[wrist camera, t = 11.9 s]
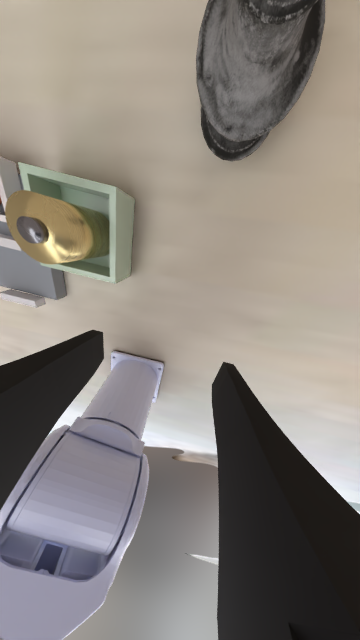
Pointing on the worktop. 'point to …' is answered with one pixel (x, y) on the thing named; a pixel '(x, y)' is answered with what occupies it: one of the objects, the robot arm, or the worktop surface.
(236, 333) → the worktop surface
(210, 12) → the salt shaker
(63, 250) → the cell
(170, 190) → the worktop surface
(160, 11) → the worktop surface
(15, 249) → the grey slab
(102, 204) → the green open box
